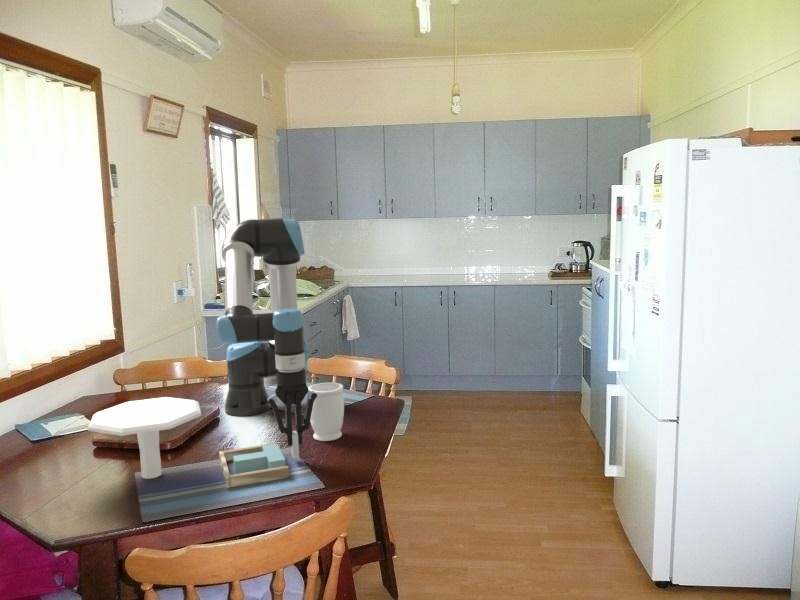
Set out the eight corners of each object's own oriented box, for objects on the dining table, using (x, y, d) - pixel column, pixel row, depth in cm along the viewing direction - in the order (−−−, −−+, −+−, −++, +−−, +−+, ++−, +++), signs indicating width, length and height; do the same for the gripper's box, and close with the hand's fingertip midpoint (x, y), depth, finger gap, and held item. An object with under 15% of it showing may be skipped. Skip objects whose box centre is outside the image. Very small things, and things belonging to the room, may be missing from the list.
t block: (232, 463, 168) (231, 450, 168) (277, 456, 172) (277, 443, 172) (237, 480, 157) (236, 467, 156) (286, 472, 161) (285, 459, 161)
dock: (219, 460, 170) (219, 451, 170) (276, 451, 175) (275, 442, 175) (226, 488, 153) (226, 478, 152) (289, 477, 158) (288, 467, 158)
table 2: (123, 455, 176) (117, 396, 174) (223, 453, 175) (218, 394, 173) (67, 500, 149) (60, 431, 146) (186, 498, 148) (180, 429, 146)
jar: (339, 443, 180) (337, 392, 178) (304, 442, 182) (301, 391, 180) (349, 431, 190) (347, 382, 188) (316, 429, 192) (314, 381, 190)
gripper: (267, 375, 159) (272, 465, 162) (318, 369, 163) (322, 457, 166) (263, 368, 166) (268, 455, 169) (312, 363, 170) (316, 448, 173)
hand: (295, 456), depth 168 cm, fingers closed
